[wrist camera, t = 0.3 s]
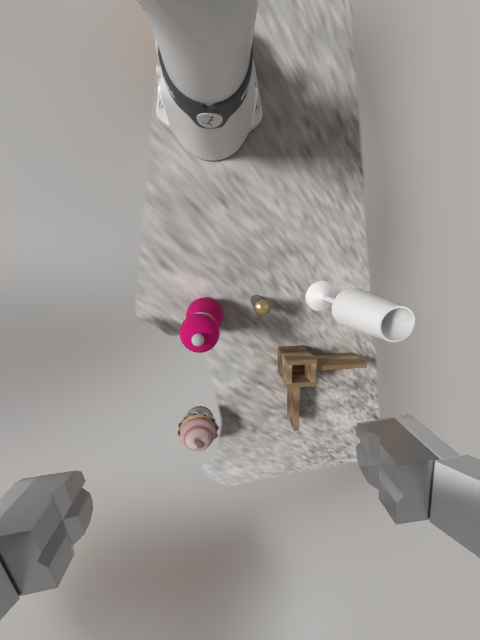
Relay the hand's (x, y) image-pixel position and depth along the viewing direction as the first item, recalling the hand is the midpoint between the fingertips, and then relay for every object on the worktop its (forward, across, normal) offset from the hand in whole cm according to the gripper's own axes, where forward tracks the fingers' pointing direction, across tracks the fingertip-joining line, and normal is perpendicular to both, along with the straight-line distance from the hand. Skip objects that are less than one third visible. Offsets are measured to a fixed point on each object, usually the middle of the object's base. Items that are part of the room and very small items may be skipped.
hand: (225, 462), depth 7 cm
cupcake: (+46, +10, +30) cm, 56 cm away
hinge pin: (+46, -7, +4) cm, 46 cm away
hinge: (+46, -19, +25) cm, 55 cm away
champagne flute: (+46, -21, +5) cm, 51 cm away
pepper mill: (+46, +4, +4) cm, 46 cm away
